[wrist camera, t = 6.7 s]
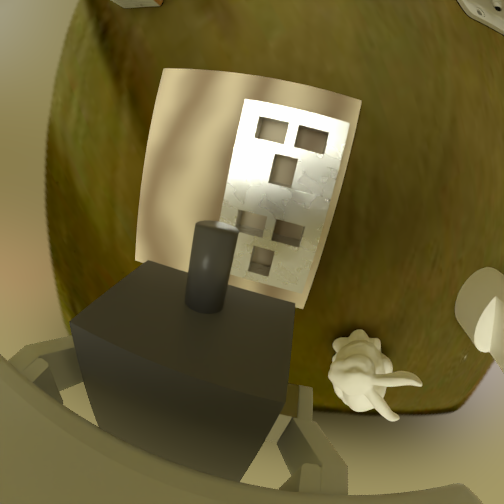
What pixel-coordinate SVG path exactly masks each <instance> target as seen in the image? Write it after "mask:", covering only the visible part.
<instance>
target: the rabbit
mask: <svg viewBox="0 0 504 504" xmlns="http://www.w3.org/2000/svg"><path fill="white" fill-rule="evenodd" d="M332 346H333V348H334V350H335V351H336V352H337V353H336V354H335V355H334V356H333V358H332V362H333V363H332V364H331V366H330V370H329V373H328V377H329V379H330V380H331V382H332V383H333V387H334V390H335V392H336V394H337V395H338V397H339V398H341V399H342V401H343V402H344V403H345V404H346V405H348V406H349V407H350V408H351V409H352V410H354V411H357V412H363V411H367V410H370V409H373V408H375V409H376V410H377V411H378V412H379V413H380V414H381V415H382V416H383V417H385V418H386V419H387V420H389V421H397V420H398V419H399V416H398V415H397V414H396V413H394V412H392V410H391V409H390V408H389V406H388V405H387V403H386V402H385V400H384V399H383V397H384V395H385V392H386V387H392V386H403V385H414V386H420V387H421V386H422V382H421V380H420V379H419V378H418V377H417V376H416V375H415V374H413V373H410V372H407V371H397V372H392V371H393V366H392V363H391V360H390V359H389V358H388V357H386V356H385V355H384V354H382V353H381V342H380V340H379V339H378V338H369V337H368V335H367V334H366V332H364V330H362V329H357V330H354V331H353V332H352V333H351V335H350V336H349V337H340V338H337V339H336V340H335V341H334V342H333V344H332Z"/></svg>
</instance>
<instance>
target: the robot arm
mask: <svg viewBox="0 0 504 504" xmlns="http://www.w3.org/2000/svg"><path fill="white" fill-rule="evenodd" d="M457 1H458V2H459V4H460V6H461V7H462V9H463V10H464V11H465V13H466V14H467V15H468V16H470V17H471V18H473V19H475V20H477V21H479V22H481V23H483V24H485V25H487V26H488V27H490V28H492V29H494V30H496V31H498V32H499V33H501V34H503V35H504V0H457ZM81 382H83V378H82V375H81V371H80V367H79V363H78V359H77V355H76V351H75V347H74V342H73V337H72V336H67V337H63V338H58V339H54V340H49V341H44V342H40V343H35V344H30V345H26V346H24V347H23V348H22V349H21V350H20V351H19V352H17V353H16V354H15V355H14V356H13V357H12V358H11V359H9V360H8V361H7V360H6V359H5V358H4V357H3V356H1V354H0V504H482V502H481V500H480V499H479V498H478V497H477V496H476V495H475V494H474V493H473V492H472V491H471V490H470V489H469V488H468V487H466V486H465V485H464V484H460V483H457V484H451V485H447V486H442V487H437V488H432V489H426V490H419V491H412V492H404V493H394V494H380V495H348V468H347V467H348V466H347V465H346V464H345V462H344V461H343V459H342V458H341V457H340V455H339V454H338V452H337V451H336V450H335V448H334V447H333V445H332V444H331V443H330V441H329V440H328V438H327V437H326V436H325V434H324V433H323V432H322V430H321V428H320V427H319V426H318V424H317V423H316V422H314V421H312V408H313V389H312V387H307V386H302V385H297V384H292V383H288V386H287V394H286V402H285V405H284V407H283V409H282V410H281V412H280V414H279V416H278V418H277V420H276V422H275V423H274V425H273V427H272V429H271V431H270V432H269V434H268V436H267V438H266V439H265V440H267V441H272V442H276V443H277V445H278V448H279V450H280V452H281V454H282V456H283V459H284V461H285V463H286V465H287V467H288V469H289V471H290V474H291V477H290V478H289V479H288V480H287V481H286V482H285V483H284V484H283V485H282V486H281V487H280V488H279V490H278V489H271V488H266V487H260V486H255V485H250V484H245V483H241V482H237V481H233V480H229V479H225V478H221V477H218V476H214V475H211V474H207V473H204V472H201V471H198V470H195V469H191V468H189V467H186V466H183V465H180V464H177V463H175V462H172V461H169V460H167V459H164V458H162V457H159V456H157V455H154V454H152V453H150V452H147V451H145V450H143V449H141V448H138V447H136V446H134V445H132V444H130V443H128V442H126V441H124V440H122V439H120V438H118V437H116V436H114V435H112V434H110V433H108V432H107V431H105V430H103V429H101V428H99V427H97V426H96V425H94V424H92V423H91V422H89V421H87V420H86V419H84V418H82V417H81V416H79V415H78V414H76V413H74V412H73V411H71V410H70V409H68V408H67V407H65V406H64V405H63V400H62V398H61V395H60V393H59V391H61V390H64V389H66V388H69V387H71V386H74V385H76V384H79V383H81Z"/></svg>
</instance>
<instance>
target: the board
mask: <svg viewBox="0 0 504 504" xmlns="http://www.w3.org/2000/svg"><path fill="white" fill-rule="evenodd" d="M245 99H249V100H255V101H261V102H266V103H271V104H276V105H281V106H286V107H291V108H295V109H299V110H304V111H308V112H312V113H316V114H319V115H323V116H327V117H330V118H334V119H337V120H341V121H344V122H347V123H350V125H349V129H348V133H347V138H346V142H345V146H344V150H343V155H342V159H341V163H340V167H339V171H338V174H337V178H336V182H335V186H334V190H333V193H332V197H331V201H330V204H329V208H328V211H327V215H326V218H325V222H324V225H323V229H322V232H321V235H320V239H319V242H318V245H317V249H316V252H315V255H314V258H313V262H312V265H311V268H310V271H309V274H308V277H307V280H306V283H305V286H304V289H303V292H302V294H301V293H297V292H293V291H289V290H286V289H282V288H278V287H274V286H271V285H267V284H263V283H260V282H256V281H252V280H249V279H245V278H241V277H238V276H234V275H231V274H230V277H229V282H228V285H232V286H235V287H239V288H242V289H246V290H249V291H253V292H256V293H260V294H263V295H267V296H271V297H274V298H278V299H282V300H285V301H289V302H293V303H295V307H297V308H301V309H303V308H304V305H305V302H306V300H307V297H308V294H309V291H310V288H311V285H312V282H313V279H314V276H315V273H316V270H317V267H318V264H319V261H320V258H321V255H322V252H323V248H324V245H325V242H326V239H327V235H328V232H329V229H330V225H331V222H332V219H333V215H334V212H335V208H336V205H337V201H338V198H339V194H340V190H341V187H342V183H343V179H344V175H345V171H346V167H347V164H348V160H349V155H350V151H351V147H352V143H353V139H354V134H355V130H356V126H357V121H358V116H359V112H360V107H361V102H362V101H361V100H358V99H355V98H352V97H348V96H345V95H342V94H338V93H335V92H331V91H327V90H324V89H320V88H316V87H312V86H308V85H303V84H299V83H294V82H289V81H284V80H279V79H274V78H268V77H262V76H255V75H248V74H241V73H233V72H223V71H212V70H198V69H169V68H164V70H163V73H162V77H161V81H160V85H159V89H158V94H157V98H156V102H155V107H154V112H153V117H152V122H151V127H150V132H149V138H148V143H147V149H146V156H145V162H144V169H143V176H142V184H141V192H140V202H139V212H138V223H137V237H136V254H135V260H136V261H139V262H142V263H145V262H146V261H147V260H150V261H153V262H156V263H159V264H163V265H166V266H169V267H172V268H175V269H178V270H182V271H185V272H188V270H189V263H190V256H191V249H192V242H193V235H194V229H195V224H196V222H198V221H204V220H211V221H219V220H220V215H221V209H222V204H223V199H224V194H225V189H226V184H227V179H228V174H229V169H230V164H231V159H232V155H233V150H234V145H235V141H236V136H237V132H238V127H239V123H240V118H241V114H242V110H243V105H244V101H245ZM288 126H289V125H286V124H281V123H277V122H272V121H267V120H263V122H262V126H261V130H260V135H259V139H261V140H266V141H271V142H275V143H279V144H284V143H285V139H286V135H287V130H288ZM326 136H327V135H326V134H322V133H318V132H314V131H311V130H307V129H303V128H299V130H298V135H297V139H296V143H295V147H296V148H300V149H304V150H308V151H312V152H315V153H319V154H322V153H323V148H324V144H325V140H326ZM297 162H298V159H297V158H293V157H289V156H285V155H280V154H277V157H276V162H275V166H274V170H273V174H272V179H271V180H272V181H276V182H280V183H284V184H288V185H292V182H293V178H294V174H295V170H296V166H297ZM266 220H267V216H263V215H259V214H255V213H251V212H247V211H243V212H242V217H241V222H240V224H241V225H245V226H249V227H253V228H257V229H261V230H264V228H265V224H266ZM302 229H303V226H301V225H297V224H293V223H290V222H286V221H282V220H278V219H277V222H276V226H275V230H274V233H276V234H280V235H283V236H287V237H291V238H295V239H298V240H300V237H301V233H302ZM274 253H275V251H272V250H268V249H264V248H261V247H257V246H256V247H255V252H254V256H253V260H252V262H255V263H259V264H263V265H266V266H270V267H271V265H272V261H273V257H274Z"/></svg>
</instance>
